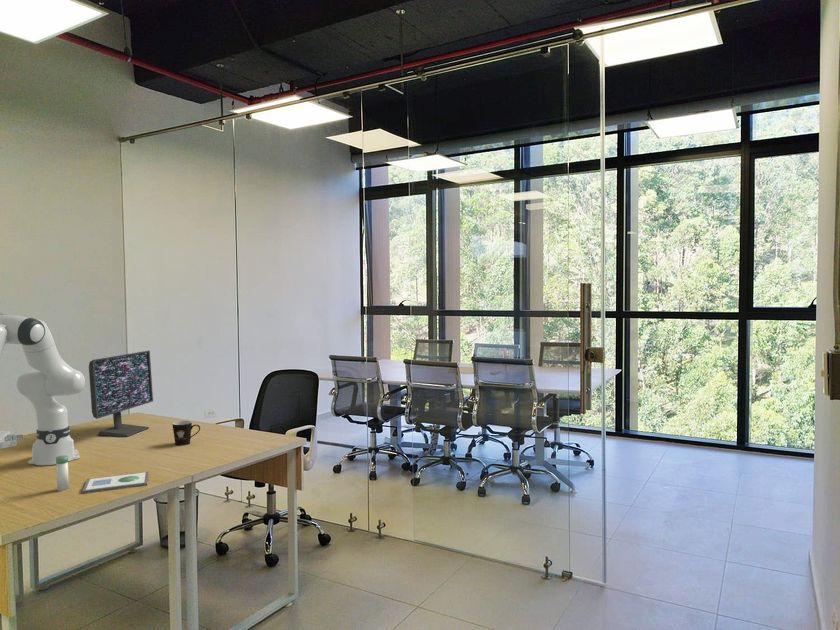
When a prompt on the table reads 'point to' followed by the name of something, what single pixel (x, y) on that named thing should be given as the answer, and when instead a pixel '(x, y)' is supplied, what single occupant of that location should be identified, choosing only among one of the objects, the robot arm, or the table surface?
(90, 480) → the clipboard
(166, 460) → the table surface
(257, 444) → the table surface
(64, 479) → the marker
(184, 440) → the coffee mug
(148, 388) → the computer monitor
